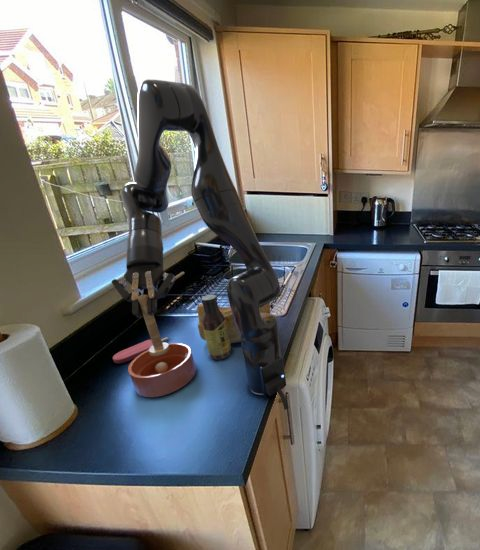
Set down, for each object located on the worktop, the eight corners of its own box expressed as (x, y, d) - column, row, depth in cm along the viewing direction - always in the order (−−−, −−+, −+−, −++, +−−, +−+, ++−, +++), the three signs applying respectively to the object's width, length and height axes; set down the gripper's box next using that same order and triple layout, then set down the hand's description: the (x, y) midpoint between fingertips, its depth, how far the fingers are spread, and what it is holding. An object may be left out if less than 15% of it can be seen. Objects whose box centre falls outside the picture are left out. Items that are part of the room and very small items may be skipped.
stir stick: (172, 350, 79) (155, 296, 73) (152, 358, 76) (133, 302, 70) (166, 343, 82) (150, 290, 76) (147, 351, 79) (128, 296, 73)
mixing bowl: (204, 378, 85) (199, 358, 83) (144, 408, 75) (136, 386, 73) (185, 355, 94) (180, 337, 91) (129, 380, 84) (122, 359, 82)
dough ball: (170, 371, 87) (167, 363, 86) (158, 376, 85) (155, 368, 84) (167, 366, 89) (164, 358, 88) (155, 371, 87) (152, 363, 85)
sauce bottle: (229, 359, 93) (216, 302, 85) (207, 362, 92) (192, 303, 84) (234, 346, 98) (223, 292, 91) (213, 348, 98) (200, 293, 90)
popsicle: (170, 338, 100) (115, 362, 89) (172, 342, 100) (117, 366, 90) (164, 332, 103) (109, 355, 92) (165, 336, 103) (111, 359, 93)
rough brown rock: (282, 321, 114) (277, 284, 109) (272, 345, 98) (265, 302, 93) (219, 325, 113) (211, 287, 108) (198, 349, 97) (188, 307, 92)
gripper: (105, 247, 73) (101, 316, 67) (171, 241, 77) (172, 306, 71) (120, 260, 79) (117, 324, 74) (180, 254, 84) (182, 315, 78)
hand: (144, 315), depth 73 cm, fingers closed on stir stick, 2 cm apart
